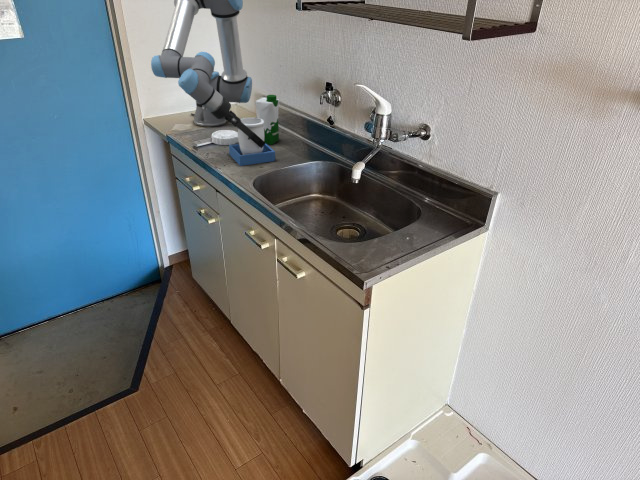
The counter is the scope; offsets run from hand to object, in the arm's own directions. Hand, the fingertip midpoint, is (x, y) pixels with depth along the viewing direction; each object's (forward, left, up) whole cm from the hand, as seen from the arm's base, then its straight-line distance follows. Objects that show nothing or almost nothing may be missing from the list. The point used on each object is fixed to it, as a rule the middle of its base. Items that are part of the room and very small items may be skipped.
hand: (258, 141), depth 188 cm
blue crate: (0, -3, -7) cm, 7 cm away
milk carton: (-16, +10, -7) cm, 21 cm away
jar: (0, -3, -7) cm, 7 cm away
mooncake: (-23, -7, -7) cm, 25 cm away
